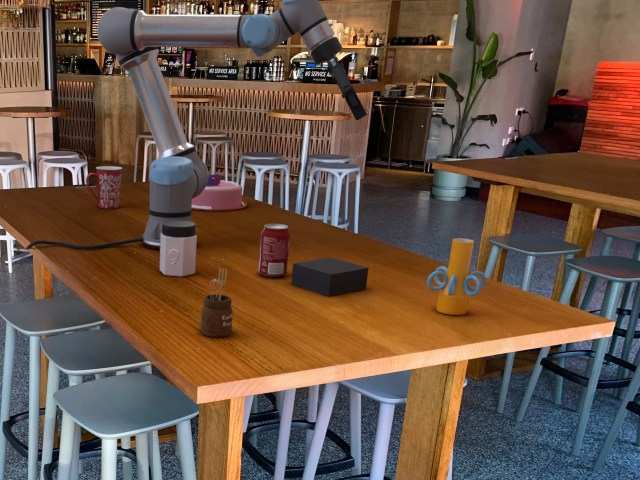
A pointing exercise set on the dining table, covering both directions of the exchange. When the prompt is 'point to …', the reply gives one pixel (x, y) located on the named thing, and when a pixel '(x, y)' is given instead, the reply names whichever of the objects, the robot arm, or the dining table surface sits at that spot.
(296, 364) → the dining table surface
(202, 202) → the cake
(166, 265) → the jar
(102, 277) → the dining table surface
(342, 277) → the pad top
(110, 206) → the mug
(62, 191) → the dining table surface
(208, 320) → the utensil holder
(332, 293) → the pad bottom
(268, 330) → the dining table surface
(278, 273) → the soda can
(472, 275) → the cylinder
